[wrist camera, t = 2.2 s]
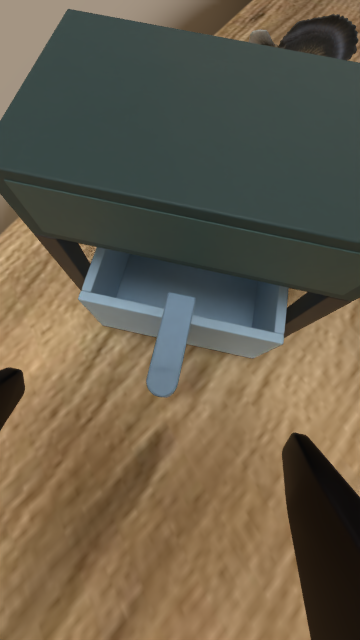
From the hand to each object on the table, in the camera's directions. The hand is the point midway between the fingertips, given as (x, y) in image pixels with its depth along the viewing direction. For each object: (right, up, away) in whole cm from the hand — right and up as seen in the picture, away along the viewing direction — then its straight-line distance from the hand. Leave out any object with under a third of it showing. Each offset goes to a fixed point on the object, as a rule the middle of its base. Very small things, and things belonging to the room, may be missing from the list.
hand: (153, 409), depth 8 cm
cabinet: (+2, +7, +14) cm, 16 cm away
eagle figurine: (+12, +28, +21) cm, 37 cm away
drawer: (+1, +4, +12) cm, 13 cm away
